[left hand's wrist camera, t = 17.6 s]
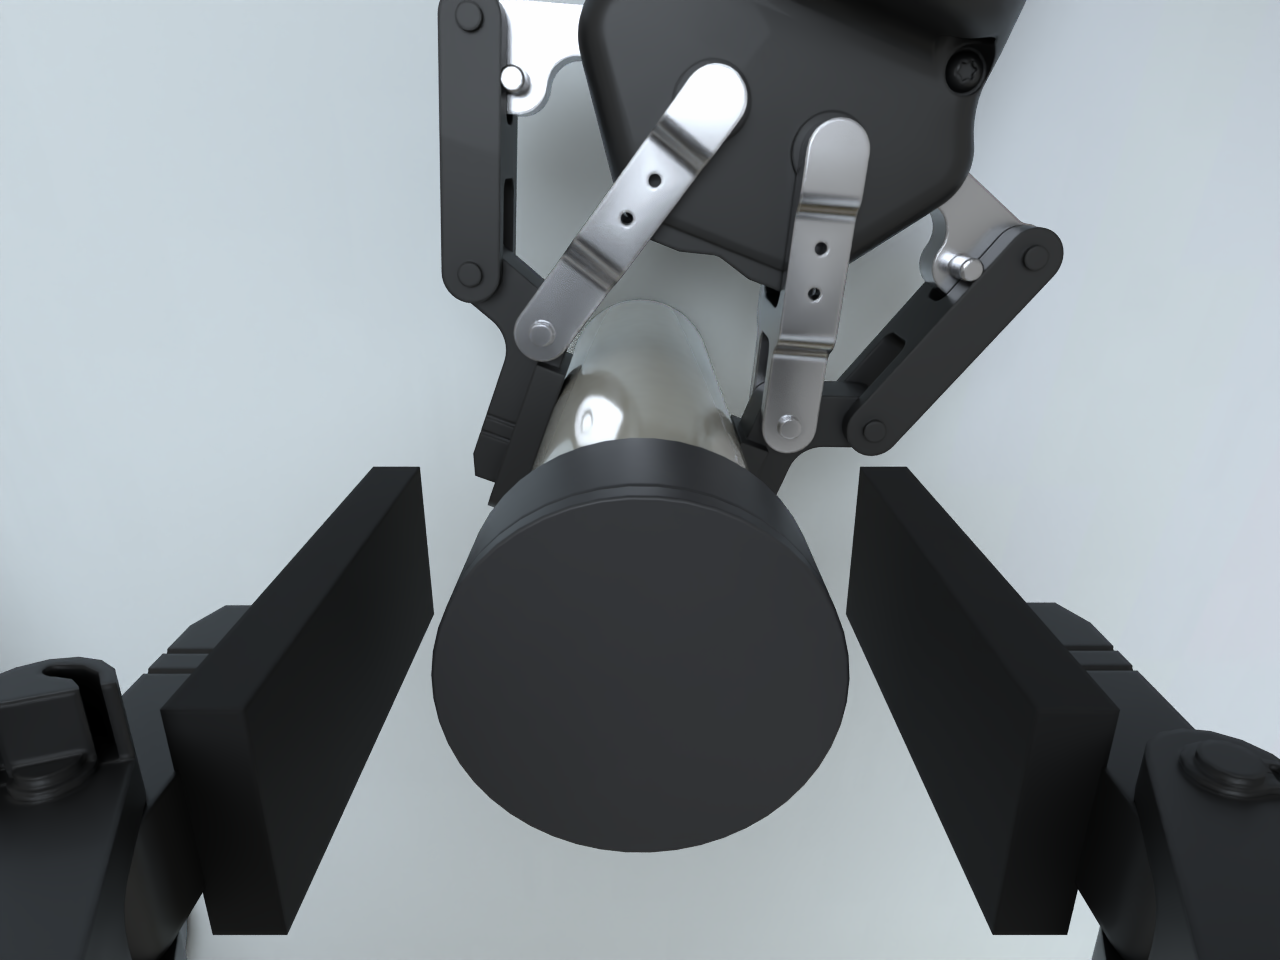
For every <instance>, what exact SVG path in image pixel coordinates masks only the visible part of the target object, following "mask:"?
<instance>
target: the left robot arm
mask: <svg viewBox="0 0 1280 960" xmlns="http://www.w3.org/2000/svg"><path fill="white" fill-rule="evenodd" d="M433 615H434V609H433V598H432V588H431V578H430V567H429V557H428V547H427V536H426V526H425V516H424V505H423V495H422V485H421V474H420V467H373V468H372V469H371V470H370V471H369V472H368V473H367V475H366V476H365V477H364V478H363V479H362V480H361V481H360V483H359V484H358V485H357V486H356V487H355V488H354V489H353V491H352V492H351V493H350V494H349V495H348V496H347V497H346V498H345V500H344V501H343V502H342V503H341V504H340V505H339V506H338V508H337V509H336V510H335V511H334V512H333V513H332V514H331V516H330V517H329V518H328V519H327V520H326V521H325V522H324V524H323V525H322V526H321V527H320V528H319V529H318V530H317V531H316V533H315V534H314V535H313V536H312V537H311V538H310V539H309V541H308V542H307V543H306V544H305V545H304V546H303V547H302V549H301V550H300V551H299V552H298V553H297V554H296V555H295V556H294V558H293V559H292V560H291V561H290V562H289V563H288V564H287V566H286V567H285V568H284V569H283V570H282V571H281V572H280V574H279V575H278V576H277V577H276V578H275V579H274V580H273V581H272V583H271V584H270V585H269V586H268V587H267V588H266V589H265V591H264V592H263V593H262V594H261V595H260V596H259V597H258V599H257V600H256V601H255V602H254V603H253V604H252V605H226V606H224V607H222V608H220V609H219V610H217V611H215V612H213V613H212V614H210V615H208V616H206V617H204V618H203V619H201V620H199V621H197V622H196V623H194V624H192V625H190V626H189V627H188V628H187V629H186V631H185V632H184V633H183V634H182V635H181V636H180V637H179V638H178V639H177V640H176V641H175V642H174V643H173V644H172V645H171V646H170V647H169V648H168V649H167V654H162V655H161V656H160V657H159V658H158V659H157V660H156V661H155V662H154V663H153V664H152V665H151V666H150V667H149V669H148V674H143V675H142V676H141V677H140V678H139V679H138V680H137V681H136V682H135V683H134V684H133V685H132V686H131V687H130V688H129V689H128V690H127V691H126V692H125V693H124V694H123V695H121V691H120V687H119V683H118V679H117V675H116V671H115V669H114V668H113V667H111V666H110V665H108V664H107V663H105V662H104V661H102V660H97V659H90V658H83V657H72V658H60V659H49V660H45V661H41V662H37V663H33V664H29V665H24V666H20V667H16V668H14V669H11V670H9V671H6V672H4V673H1V674H0V960H187V956H186V950H185V947H186V940H187V918H188V916H189V914H190V913H191V911H192V909H193V908H194V906H195V904H196V903H197V901H198V899H199V898H200V896H201V894H202V893H203V895H204V899H205V904H206V908H207V912H208V916H209V921H210V925H211V929H212V933H213V935H287V934H288V932H289V930H290V928H291V925H292V923H293V921H294V919H295V917H296V914H297V912H298V910H299V908H300V906H301V904H302V901H303V899H304V897H305V895H306V893H307V890H308V888H309V886H310V884H311V882H312V880H313V877H314V875H315V873H316V871H317V869H318V866H319V864H320V862H321V860H322V858H323V855H324V853H325V851H326V849H327V847H328V845H329V842H330V840H331V838H332V836H333V834H334V831H335V829H336V827H337V825H338V823H339V821H340V818H341V816H342V814H343V812H344V810H345V807H346V805H347V803H348V801H349V799H350V796H351V794H352V792H353V790H354V788H355V786H356V783H357V781H358V779H359V777H360V775H361V772H362V770H363V768H364V766H365V764H366V761H367V759H368V757H369V755H370V753H371V751H372V748H373V746H374V744H375V742H376V740H377V737H378V735H379V733H380V731H381V729H382V727H383V724H384V722H385V720H386V718H387V716H388V713H389V711H390V709H391V707H392V705H393V702H394V700H395V698H396V696H397V694H398V692H399V689H400V687H401V685H402V683H403V681H404V678H405V676H406V674H407V672H408V670H409V668H410V665H411V663H412V661H413V659H414V657H415V654H416V652H417V650H418V648H419V646H420V643H421V641H422V639H423V637H424V635H425V633H426V630H427V628H428V626H429V624H430V622H431V619H432V617H433ZM846 615H847V617H848V619H849V622H850V624H851V626H852V628H853V630H854V633H855V635H856V637H857V639H858V641H859V643H860V646H861V648H862V650H863V652H864V654H865V657H866V659H867V661H868V663H869V665H870V668H871V670H872V672H873V674H874V676H875V678H876V681H877V683H878V685H879V687H880V689H881V692H882V694H883V696H884V698H885V700H886V702H887V705H888V707H889V709H890V711H891V713H892V716H893V718H894V720H895V722H896V724H897V727H898V729H899V731H900V733H901V735H902V737H903V740H904V742H905V744H906V746H907V748H908V751H909V753H910V755H911V757H912V759H913V761H914V764H915V766H916V768H917V770H918V772H919V775H920V777H921V779H922V781H923V783H924V786H925V788H926V790H927V792H928V794H929V796H930V799H931V801H932V803H933V805H934V807H935V810H936V812H937V814H938V816H939V818H940V821H941V823H942V825H943V827H944V829H945V831H946V834H947V836H948V838H949V840H950V842H951V845H952V847H953V849H954V851H955V853H956V855H957V858H958V860H959V862H960V864H961V866H962V869H963V871H964V873H965V875H966V877H967V880H968V882H969V884H970V886H971V888H972V890H973V893H974V895H975V897H976V899H977V901H978V904H979V906H980V908H981V910H982V912H983V914H984V917H985V919H986V921H987V923H988V925H989V928H990V930H991V932H992V934H993V935H1067V933H1068V929H1069V925H1070V921H1071V916H1072V912H1073V908H1074V904H1075V899H1076V895H1077V891H1078V890H1079V892H1080V893H1081V895H1082V896H1083V898H1084V900H1085V901H1086V903H1087V905H1088V906H1089V908H1090V910H1091V911H1092V913H1093V915H1094V916H1095V918H1096V920H1097V921H1098V923H1099V925H1100V929H1099V932H1098V936H1097V940H1096V944H1095V948H1094V952H1093V956H1092V960H1280V759H1279V758H1277V757H1276V756H1274V755H1273V754H1271V753H1269V752H1267V751H1265V750H1262V749H1260V748H1258V747H1256V746H1254V745H1252V744H1250V743H1247V742H1245V741H1243V740H1240V739H1237V738H1233V737H1230V736H1226V735H1223V734H1219V733H1216V732H1212V731H1205V730H1195V729H1194V728H1193V727H1192V726H1191V725H1190V724H1189V723H1188V722H1187V721H1186V720H1185V719H1184V718H1183V717H1182V716H1181V715H1180V714H1179V713H1178V712H1177V711H1176V710H1175V708H1174V707H1173V706H1172V705H1171V704H1170V703H1169V702H1168V701H1167V700H1166V699H1165V698H1164V697H1163V696H1162V695H1161V694H1160V693H1159V692H1158V691H1157V690H1156V689H1155V688H1154V687H1153V686H1152V685H1151V684H1150V683H1149V682H1148V681H1147V680H1146V679H1145V678H1144V677H1143V676H1142V675H1141V674H1140V673H1139V672H1138V671H1133V669H1132V665H1131V664H1130V663H1129V662H1128V661H1127V660H1126V659H1125V658H1124V657H1123V655H1122V654H1121V653H1120V652H1119V651H1114V650H1113V645H1112V644H1111V643H1110V642H1109V641H1108V640H1107V639H1106V638H1105V637H1104V636H1103V635H1102V634H1101V633H1100V632H1099V631H1098V630H1097V629H1096V628H1095V627H1094V626H1093V625H1092V624H1091V623H1090V622H1088V621H1086V620H1085V619H1083V618H1081V617H1079V616H1078V615H1076V614H1074V613H1072V612H1071V611H1069V610H1067V609H1065V608H1063V607H1062V606H1060V605H1058V604H1056V603H1026V602H1025V601H1024V600H1023V599H1022V597H1021V596H1020V595H1019V594H1018V593H1017V592H1016V591H1015V589H1014V588H1013V587H1012V586H1011V585H1010V584H1009V583H1008V581H1007V580H1006V579H1005V578H1004V577H1003V576H1002V575H1001V574H1000V572H999V571H998V570H997V569H996V568H995V567H994V566H993V564H992V563H991V562H990V561H989V560H988V559H987V558H986V556H985V555H984V554H983V553H982V552H981V551H980V550H979V549H978V547H977V546H976V545H975V544H974V543H973V542H972V541H971V539H970V538H969V537H968V536H967V535H966V534H965V533H964V531H963V530H962V529H961V528H960V527H959V526H958V525H957V524H956V522H955V521H954V520H953V519H952V518H951V517H950V516H949V514H948V513H947V512H946V511H945V510H944V509H943V508H942V506H941V505H940V504H939V503H938V502H937V501H936V500H935V498H934V497H933V496H932V495H931V494H930V493H929V492H928V491H927V489H926V488H925V487H924V486H923V485H922V484H921V483H920V481H919V480H918V479H917V478H916V477H915V476H914V475H913V473H912V472H911V471H910V470H909V469H908V468H907V467H860V474H859V485H858V495H857V505H856V516H855V526H854V536H853V547H852V557H851V567H850V578H849V588H848V598H847V609H846Z"/></svg>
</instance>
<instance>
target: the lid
mask: <svg viewBox="0 0 1280 960" xmlns="http://www.w3.org/2000/svg"><path fill="white" fill-rule="evenodd" d="M431 676H432V687H433V698H434V702H435V707H436V711H437V715H438V719H439V722H440V725H441V727H442V730H443V732H444V735H445V737H446V740H447V742H448V744H449V746H450V748H451V749H452V751H453V753H454V754H455V756H456V758H457V760H458V761H459V763H460V765H461V766H462V767H463V768H464V770H465V771H466V772H467V773H468V775H469V776H470V777H471V779H472V780H473V781H474V782H475V783H476V784H477V785H478V786H479V787H480V788H481V789H482V790H483V791H484V792H485V793H486V794H487V795H488V796H489V797H490V798H491V799H492V800H493V801H495V802H496V803H497V804H498V805H500V806H501V807H502V808H504V809H505V810H506V811H507V812H509V813H510V814H512V815H513V816H515V817H517V818H518V819H520V820H522V821H523V822H525V823H527V824H528V825H530V826H532V827H534V828H536V829H538V830H541V831H543V832H545V833H547V834H549V835H552V836H554V837H557V838H560V839H563V840H566V841H569V842H572V843H575V844H579V845H583V846H588V847H593V848H597V849H602V850H611V851H620V852H660V851H670V850H678V849H683V848H688V847H693V846H698V845H702V844H705V843H709V842H712V841H715V840H718V839H721V838H724V837H727V836H729V835H731V834H734V833H736V832H738V831H740V830H743V829H745V828H747V827H749V826H751V825H752V824H754V823H756V822H758V821H759V820H761V819H763V818H764V817H766V816H768V815H769V814H771V813H772V812H773V811H775V810H776V809H777V808H779V807H780V806H781V805H783V804H784V803H785V802H787V801H788V800H789V799H790V798H791V797H792V796H793V795H794V794H795V793H796V792H797V791H798V790H799V789H800V788H801V787H803V786H804V784H805V783H806V782H807V781H808V780H809V778H810V777H811V776H812V775H813V773H814V772H815V771H816V770H817V769H818V767H819V766H820V764H821V763H822V761H823V759H824V758H825V756H826V754H827V753H828V751H829V749H830V748H831V746H832V744H833V741H834V739H835V737H836V734H837V732H838V730H839V728H840V725H841V722H842V718H843V714H844V710H845V707H846V703H847V696H848V687H849V655H848V650H847V645H846V640H845V635H844V631H843V628H842V625H841V623H840V620H839V617H838V614H837V612H836V609H835V607H834V604H833V602H832V600H831V598H830V595H829V593H828V591H827V588H826V586H825V584H824V581H823V579H822V577H821V575H820V572H819V570H818V568H817V565H816V563H815V561H814V559H813V556H812V554H811V552H810V549H809V547H808V545H807V543H806V540H805V538H804V536H803V534H802V532H801V530H800V528H799V527H798V525H797V523H796V521H795V519H794V517H793V516H792V514H791V513H790V512H789V510H788V509H787V508H786V506H785V505H784V504H783V502H782V501H781V500H780V498H779V497H778V496H777V495H776V494H775V493H774V492H773V491H772V490H771V489H770V488H769V487H768V486H767V485H766V484H765V483H764V482H762V481H761V480H760V479H758V478H757V477H756V476H754V475H753V474H752V473H751V472H749V471H748V470H747V469H745V468H743V467H742V466H740V465H738V464H737V463H735V462H733V461H731V460H730V459H728V458H726V457H724V456H722V455H719V454H717V453H714V452H712V451H709V450H707V449H704V448H702V447H698V446H694V445H690V444H687V443H683V442H679V441H672V440H665V439H657V438H625V439H616V440H608V441H603V442H598V443H594V444H590V445H586V446H582V447H579V448H577V449H574V450H572V451H569V452H567V453H564V454H561V455H559V456H557V457H555V458H553V459H552V460H550V461H548V462H546V463H544V464H542V465H541V466H539V467H537V468H536V469H535V470H533V471H532V472H530V473H529V474H528V475H526V476H525V477H524V478H522V479H521V480H520V481H519V482H517V483H516V484H515V485H514V486H513V487H512V488H511V489H510V490H509V491H508V492H507V493H506V494H505V495H504V496H503V497H502V498H501V500H500V501H499V502H498V504H497V505H496V506H495V507H494V509H493V510H492V511H491V513H490V514H489V516H488V517H487V519H486V521H485V523H484V524H483V526H482V528H481V530H480V531H479V533H478V536H477V538H476V540H475V543H474V545H473V547H472V549H471V552H470V554H469V556H468V559H467V561H466V563H465V565H464V568H463V570H462V572H461V575H460V577H459V579H458V581H457V584H456V586H455V588H454V591H453V593H452V595H451V597H450V600H449V602H448V604H447V607H446V609H445V612H444V614H443V617H442V620H441V622H440V625H439V627H438V631H437V635H436V640H435V644H434V649H433V658H432V673H431Z"/></svg>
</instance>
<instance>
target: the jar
mask: <svg viewBox="0 0 1280 960" xmlns="http://www.w3.org/2000/svg"><path fill="white" fill-rule="evenodd" d="M625 438H657V439H665V440H672V441H679V442H683V443H687V444H690V445H694V446H698V447H702V448H704V449H707V450H709V451H712V452H714V453H717V454H719V455H722V456H724V457H726V458H728V459H730V460H731V461H733V462H735V463H737V464H738V465H740V466H742V467H743V468H745V469H747V470H748V471H749V469H748V466H747V463H746V460H745V457H744V454H743V452H742V449H741V446H740V443H739V440H738V438H737V435H736V432H735V429H734V426H733V423H732V421H731V418H730V415H729V412H728V409H727V407H726V404H725V401H724V398H723V395H722V392H721V390H720V387H719V384H718V381H717V378H716V376H715V373H714V370H713V367H712V364H711V361H710V359H709V356H708V353H707V350H706V347H705V345H704V342H703V339H702V337H701V336H700V334H699V332H698V330H697V329H696V327H695V326H694V325H693V323H692V322H691V321H690V320H689V319H688V318H687V317H686V316H684V315H683V314H682V313H681V312H679V311H678V310H676V309H674V308H673V307H671V306H668V305H666V304H664V303H660V302H657V301H652V300H638V299H636V300H628V301H624V302H620V303H617V304H615V305H612V306H610V307H608V308H606V309H605V310H603V311H601V312H600V313H599V314H597V315H596V316H595V317H594V318H593V319H592V320H591V321H590V322H589V323H588V324H587V326H586V327H585V328H584V330H583V331H582V333H581V335H580V336H579V339H578V341H577V344H576V346H575V349H574V352H573V357H572V360H571V363H570V366H569V368H568V371H567V374H566V377H565V380H564V382H563V385H562V388H561V391H560V393H559V396H558V399H557V402H556V404H555V407H554V409H553V412H552V414H551V417H550V419H549V422H548V425H547V428H546V431H545V434H544V436H543V439H542V442H541V445H540V448H539V451H538V453H537V456H536V459H535V462H534V465H533V467H532V470H531V472H532V471H533V470H535V469H536V468H537V467H539V466H541V465H542V464H544V463H546V462H548V461H550V460H552V459H553V458H555V457H557V456H559V455H561V454H564V453H567V452H569V451H572V450H574V449H577V448H579V447H582V446H586V445H590V444H594V443H598V442H603V441H608V440H616V439H625ZM749 472H750V471H749Z"/></svg>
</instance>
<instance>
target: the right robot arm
mask: <svg viewBox="0 0 1280 960" xmlns="http://www.w3.org/2000/svg"><path fill="white" fill-rule="evenodd" d="M1025 2H1026V0H586V1H585V3H584V5H576V4H563V3H550V2H537V1H523V0H440V2H439V7H438V64H439V130H440V195H441V261H442V278H443V282H444V284H445V286H446V288H447V290H448V291H449V292H450V293H451V294H452V295H453V296H454V297H455V298H457V299H459V300H461V301H463V302H467V303H471V304H473V305H474V306H475V307H476V308H477V309H479V310H480V311H481V312H482V313H483V314H485V315H486V316H487V317H488V318H489V319H491V320H492V321H493V322H494V323H495V324H496V325H497V326H498V328H499V329H500V331H501V332H502V334H503V337H504V339H505V344H506V357H505V361H504V364H503V367H502V370H501V373H500V376H499V379H498V382H497V385H496V388H495V391H494V394H493V397H492V400H491V403H490V406H489V409H488V411H487V415H486V417H485V420H484V423H483V426H482V430H481V433H480V435H479V438H478V441H477V444H476V447H475V450H474V453H473V455H474V467H475V476H478V477H481V478H484V479H486V480H489V481H492V482H495V484H494V487H493V490H492V493H491V496H490V499H489V502H488V505H489V506H492V507H495V506H496V505H497V504H498V502H499V501H500V500H501V498H502V497H503V496H504V495H505V494H506V493H507V492H508V491H509V490H510V489H511V488H512V487H513V486H514V485H515V484H516V483H517V482H519V481H520V480H521V479H522V478H524V477H525V476H526V475H528V474H529V473H530V472H531V470H532V467H533V465H534V462H535V459H536V456H537V453H538V451H539V448H540V445H541V442H542V439H543V436H544V434H545V431H546V428H547V425H548V422H549V419H550V417H551V414H552V412H553V409H554V407H555V404H556V402H557V399H558V396H559V393H560V391H561V388H562V385H563V382H564V380H565V377H566V374H567V371H568V368H569V366H570V363H571V360H572V357H573V354H571V353H568V352H566V351H567V348H568V346H569V345H570V343H571V342H572V341H573V339H574V338H575V337H576V335H577V334H578V332H579V331H580V330H581V328H582V327H583V326H584V324H585V323H586V322H587V320H588V319H589V318H590V316H591V315H592V314H593V312H594V311H595V310H596V308H597V307H598V306H599V304H600V303H601V302H602V300H603V299H604V298H605V296H606V295H607V294H608V292H609V291H610V290H611V289H612V287H613V286H614V285H615V284H616V283H617V282H618V281H619V280H620V278H621V277H622V276H623V274H624V273H625V272H626V271H627V269H628V268H629V267H630V265H631V264H632V263H633V261H634V260H635V258H636V257H637V256H638V254H639V253H640V252H641V250H642V249H643V248H644V246H645V245H646V244H647V242H648V241H649V240H652V241H655V242H657V243H660V244H662V245H665V246H667V247H670V248H672V249H675V250H677V251H681V252H690V253H699V254H708V255H716V256H719V257H720V258H722V259H723V260H724V261H726V262H727V263H728V264H730V265H731V266H732V267H734V268H735V269H736V270H737V271H739V272H740V273H741V274H743V275H744V276H745V277H747V278H748V279H750V280H752V281H755V282H757V283H760V284H761V286H760V294H759V302H758V311H757V325H758V333H757V342H756V350H755V357H754V365H753V373H752V381H751V388H750V396H749V402H748V404H747V407H746V409H745V411H744V413H743V416H742V418H739V417H736V416H733V415H731V417H730V418H731V421H732V423H733V426H734V429H735V432H736V435H737V438H738V440H739V443H740V446H741V449H742V452H743V454H744V457H745V460H746V463H747V466H748V469H749V471H750V472H751V473H752V474H753V475H754V476H756V477H757V478H758V479H760V480H761V481H762V482H764V483H765V484H766V485H767V486H768V487H769V488H770V489H771V490H772V491H773V492H774V493H775V494H777V492H778V490H779V488H780V486H781V484H782V482H783V480H784V478H785V475H786V473H787V471H788V469H789V467H790V465H791V464H792V462H793V461H794V460H795V459H796V458H797V457H798V456H799V455H800V454H802V453H803V452H805V451H807V450H809V449H812V448H816V447H852V448H853V449H854V450H855V451H857V452H858V453H860V454H863V455H867V456H875V455H880V454H882V453H885V452H886V451H888V450H890V449H891V448H892V447H893V446H894V445H895V444H896V443H897V442H898V441H899V440H900V438H901V437H902V436H903V435H904V434H905V433H906V432H907V431H908V430H909V429H910V428H911V427H912V426H913V425H914V424H915V423H916V421H917V420H918V419H919V418H920V417H921V416H922V415H923V414H924V413H925V412H926V411H927V410H928V409H929V408H930V407H931V406H932V405H933V403H934V402H935V401H936V400H937V399H938V398H939V397H940V396H941V395H942V394H943V393H944V392H945V391H946V390H947V389H948V388H949V387H950V385H951V384H952V383H953V382H954V381H955V380H956V379H957V378H958V377H959V376H960V375H961V374H962V373H963V372H964V371H965V370H966V368H967V367H968V366H969V365H970V364H971V363H972V362H973V361H974V360H975V359H976V358H977V357H978V356H979V355H980V354H981V353H982V352H983V350H984V349H985V348H986V347H987V346H988V345H989V344H990V343H991V342H992V341H993V340H994V339H995V338H996V337H997V336H998V335H999V333H1000V332H1001V331H1002V330H1003V329H1004V328H1005V327H1006V326H1007V325H1008V324H1009V323H1010V322H1011V321H1012V320H1013V319H1014V318H1015V317H1016V315H1017V314H1018V313H1019V312H1020V311H1021V310H1022V309H1023V308H1024V307H1025V306H1026V305H1027V304H1028V303H1029V302H1030V301H1031V300H1032V298H1033V297H1034V296H1035V295H1036V294H1037V293H1038V292H1039V291H1040V290H1041V289H1042V288H1043V287H1044V286H1045V285H1046V284H1047V283H1048V282H1049V280H1050V279H1051V278H1052V277H1053V276H1054V275H1055V274H1056V273H1057V271H1058V270H1059V268H1060V266H1061V263H1062V260H1063V245H1062V242H1061V240H1060V238H1059V237H1058V236H1057V235H1056V234H1055V233H1054V232H1053V231H1051V230H1049V229H1046V228H1042V227H1036V226H1034V225H1031V224H1026V223H1023V222H1021V221H1020V220H1019V219H1017V218H1016V217H1015V216H1014V215H1013V214H1012V213H1011V212H1010V211H1009V210H1008V209H1007V208H1006V207H1005V206H1004V205H1003V204H1002V203H1000V202H999V201H998V200H997V199H996V198H995V197H994V196H993V195H992V194H991V193H990V192H989V191H988V190H987V189H986V188H985V187H984V186H982V185H981V184H980V183H979V182H978V181H977V180H976V179H975V178H974V177H973V176H972V175H971V174H970V173H969V171H970V168H971V165H972V161H973V156H974V120H975V113H976V108H977V104H978V100H979V97H980V94H981V91H982V89H983V87H984V84H985V82H986V81H987V79H988V77H989V75H990V73H991V71H992V69H993V67H994V65H995V64H996V62H997V60H998V58H999V56H1000V54H1001V52H1002V50H1003V48H1004V46H1005V44H1006V42H1007V40H1008V38H1009V35H1010V33H1011V31H1012V29H1013V27H1014V25H1015V23H1016V21H1017V19H1018V17H1019V15H1020V12H1021V10H1022V8H1023V6H1024V4H1025ZM576 61H582V63H583V67H584V71H585V75H586V79H587V83H588V86H589V90H590V94H591V98H592V102H593V106H594V109H595V113H596V117H597V121H598V125H599V129H600V133H601V136H602V140H603V144H604V148H605V152H606V156H607V159H608V163H609V167H610V171H611V175H612V179H613V182H614V184H613V185H612V187H611V188H610V190H609V191H608V192H607V194H606V195H605V197H604V198H603V199H602V201H601V202H600V204H599V205H598V206H597V208H596V209H595V211H594V212H593V213H592V215H591V216H590V218H589V219H588V220H587V222H586V223H585V224H584V226H583V227H582V229H581V230H580V231H579V233H578V234H577V236H576V237H575V238H574V240H573V241H572V243H571V244H570V246H569V247H568V248H567V250H566V251H565V253H564V254H563V256H562V257H561V258H560V260H559V261H558V263H557V264H556V265H555V267H554V268H553V270H552V271H551V272H550V274H549V275H548V277H547V278H546V279H545V280H544V279H543V278H542V277H541V276H540V275H538V274H537V273H536V272H535V271H534V270H533V269H531V268H530V267H529V266H528V265H527V264H526V263H524V262H523V261H522V260H521V259H520V258H519V257H518V256H516V189H517V120H518V116H522V117H524V116H531V115H534V114H536V113H538V112H539V111H541V110H542V109H543V108H544V106H545V105H546V104H547V102H548V100H549V97H550V93H551V87H552V83H553V80H554V78H555V76H556V74H557V73H558V72H559V70H560V69H561V68H562V67H564V66H565V65H567V64H569V63H571V62H576ZM625 213H626V214H625ZM929 213H930V215H931V217H932V222H933V231H932V235H931V238H930V240H929V242H928V244H927V245H926V247H925V248H924V250H923V252H922V254H921V257H920V262H919V269H920V273H921V275H922V277H923V279H924V280H925V283H924V284H923V285H922V286H921V287H920V288H919V289H918V290H917V291H916V293H915V294H914V295H913V296H912V297H911V298H910V299H909V300H908V302H907V303H906V304H905V305H904V306H903V307H902V308H901V309H900V311H899V312H898V313H897V314H896V315H895V316H894V317H893V318H892V319H891V321H890V322H889V323H888V324H887V325H886V326H885V327H884V328H883V330H882V331H881V332H880V333H879V334H878V335H877V336H876V337H875V339H874V340H873V341H872V342H871V343H870V344H869V345H868V346H867V347H866V349H865V350H864V351H863V352H862V353H861V354H860V355H859V356H858V358H857V359H856V360H855V361H854V362H853V363H852V364H851V365H850V366H849V368H848V369H847V370H846V371H845V372H844V373H843V374H842V375H841V377H840V378H839V379H838V380H837V381H824V377H825V371H826V365H827V360H828V356H829V354H830V353H831V352H832V350H833V348H834V345H835V342H836V338H837V332H838V326H839V320H840V314H841V308H842V301H843V295H844V289H845V283H846V277H847V271H848V264H850V263H851V262H853V261H855V260H856V259H858V258H859V257H861V256H862V255H864V254H866V253H867V252H869V251H870V250H872V249H874V248H875V247H877V246H878V245H880V244H881V243H883V242H885V241H886V240H888V239H889V238H891V237H893V236H894V235H896V234H897V233H899V232H901V231H902V230H904V229H905V228H907V227H908V226H910V225H912V224H913V223H915V222H916V221H918V220H920V219H921V218H923V217H924V216H926V215H927V214H929ZM815 290H816V291H815Z"/></svg>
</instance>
